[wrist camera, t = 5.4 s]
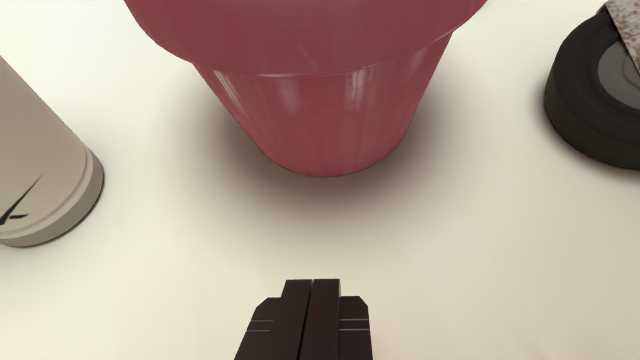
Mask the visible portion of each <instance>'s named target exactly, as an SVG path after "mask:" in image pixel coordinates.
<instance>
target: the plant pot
mask: <svg viewBox="0 0 640 360" xmlns="http://www.w3.org/2000/svg"><path fill="white" fill-rule="evenodd" d="M124 1H125V3H126V5H127V7H128V8H129V10H130V12H131V13H132V15H133V17H134V18H135V20H136V21H137V23H138V24H139V26H140V27H141V28H142V29H143V31H144V32H145V33H146V34H147V35H148V36H149V37H150V38H151V39H152V40H154V41H155V43H156V44H158V45H159V46H161V47H162V48H164V49H165V50H167V51H168V52H170V53H172V54H173V55H175V56H177V57H179V58H181V59H183V60H186V61H188V62H190V63H192V64H193V65H194V66H195V68H196V69H197V70H198V72H199V73H200V75H201V76H202V77H203V79H204V80H205V81H206V83H207V84H208V85H209V87H210V88H211V89H212V91H213V92H214V93H215V94H216V96H217V97H218V98H219V99H220V101H221V102H222V103H223V105H224V106H225V107H226V108H227V110H228V111H229V112H230V113H231V114H232V116H233V117H234V118H235V119H236V120H237V122H238V123H239V124H240V125H241V126H242V128H243V129H244V130H245V131H246V132H247V133H248V135H249V136H250V137H251V138H252V139H253V141H254V142H255V143H256V144H257V146H258V147H259V148H260V150H261V151H262V152H263V153H264V154H265V155H266V156H267V157H268V158H270V159H271V160H272V161H274V162H275V163H277V164H278V165H280V166H282V167H284V168H286V169H288V170H290V171H293V172H296V173H300V174H305V175H310V176H321V177H325V176H339V175H345V174H349V173H353V172H357V171H359V170H362V169H365V168H367V167H369V166H371V165H373V164H375V163H376V162H378V161H380V160H381V159H383V158H384V157H385V156H387V155H388V154H389V153H390V152H391V151H392V150H393V149H394V148H395V147H396V146H397V144H398V143H399V142H400V140H401V139H402V138H403V136H404V134H405V132H406V130H407V127H408V125H409V122H410V120H411V118H412V116H413V114H414V111H415V109H416V107H417V105H418V103H419V101H420V99H421V97H422V95H423V93H424V91H425V90H426V88H427V86H428V84H429V81H430V79H431V77H432V75H433V73H434V71H435V69H436V67H437V65H438V63H439V61H440V59H441V57H442V55H443V52H444V50H445V48H446V46H447V44H448V42H449V40H450V38H451V36H452V33H453V31H455V30H456V29H457V28H459V27H460V26H462V25H463V24H464V23H465V22H467V21H468V20H469V19H470V18H471V17H472V16H473V15H474V14H475V13H476V12H477V11H478V10H479V9H480V8H481V7H482V6H483V5H484V3H485V2H486V1H487V0H124Z"/></svg>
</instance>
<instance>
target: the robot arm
mask: <svg viewBox="0 0 640 360" xmlns="http://www.w3.org/2000/svg"><path fill="white" fill-rule="evenodd" d="M234 360H373V357H372V346H371V336H370V325H369V315H368V306H367V305H366V304H365V302H364V301H363V300H362V299H361V298H360V297H359V296H341V289H340V279H314V282H313V280H312V279H299V280H286V283H285V286H284V289H283V292H282V295H281V297H278V298H267V299H266V300H264V301H263V302H262V303H261V304H260V305H259V306H257V307H256V309H255V311H254V314H253V316H252V318H251V322H250V323H249V325H248V328H247V332H246V333H245V335H244V337H243V340H242V342H241V344H240V347H239V349H238V351H237V354H236V356H235V358H234Z"/></svg>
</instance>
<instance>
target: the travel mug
mask: <svg viewBox="0 0 640 360" xmlns="http://www.w3.org/2000/svg"><path fill="white" fill-rule="evenodd" d="M102 182H103V170H102V166H101V163H100V161H99V160H98V158H97V157H96V156H95V155H94V154H93V153H92V151H91V150H90V149H89V148H88V147H87V146H86V145H85V144H84V143H83V142H82V141H80V139H79V138H78V137H77V136H76V135H75V134H74V133H73V131H72V130H71V129H70V128H69V127H68V126H67V125H66V124H65V123H64V122H63V121H62V120H61V119H60V118H59V117H58V116H57V115H56V114H55V113H54V111H53V110H52V109H51V108H50V107H49V106H48V105H47V104H46V103H45V102H44V101H43V100H42V99H41V98H40V97H39V96H38V95H37V94H36V93H35V91H34V90H33V89H32V88H31V87H30V86H29V85H28V84H27V83H26V82H25V81H24V80H23V79H22V78H21V77H20V76H19V75H18V74H17V73H16V71H15V70H14V69H13V68H12V67H11V66H10V65H9V64H8V63H7V62H6V61H5V60H4V59H3V58H2V57H1V56H0V243H2V244H5V245H8V246H17V247H21V246H30V245H35V244H39V243H43V242H46V241H48V240H51V239H53V238H55V237H57V236H59V235H61V234H62V233H64V232H66V231H67V230H69V229H70V228H71V227H73V226H74V225H75V224H76V223H78V222H79V221H80V220H81V219H82V218H83V217H84V216H85V215H86V214H87V212H88V211H89V210H90V209H91V207H92V206H93V204H94V203H95V201H96V199H97V197H98V195H99V193H100V190H101V186H102Z"/></svg>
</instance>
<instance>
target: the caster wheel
mask: <svg viewBox="0 0 640 360" xmlns="http://www.w3.org/2000/svg"><path fill="white" fill-rule="evenodd" d="M545 107H546V111H547V114H548V117H549V119H550V120H551V122H552V124H553V126H554V128H555V129H556V130H557V131H558V133H559V134H560V135H561V136H562V137H563V138H564V139H565V140H566V141H567V142H568V143H569V144H571V145H572V146H573V147H574V148H576V149H577V150H579V151H580V152H582V153H584V154H585V155H587V156H589V157H591V158H593V159H596V160H599V161H601V162H604V163H607V164H609V165H613V166H617V167H621V168H627V169H636V170H640V0H609V1H607V2H606V3H604V4H603V5H602V7H601V8H600V9H599V10H598V11H597V13H596V15H595V16H593V17H591V18H589V19H588V20H586V21H584V22H583V23H581V24H580V25H579V26H578V27H576V28H575V29H574V30H573V31H572V32H571V33H570V34H569V35H568V36H567V38H566V39H565V40H564V41H563V43H562V44H561V46H560V48H559V50H558V53H557V55H556V57H555V60H554V63H553V65H552V68H551V71H550V74H549V77H548V80H547V84H546V88H545Z"/></svg>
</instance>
